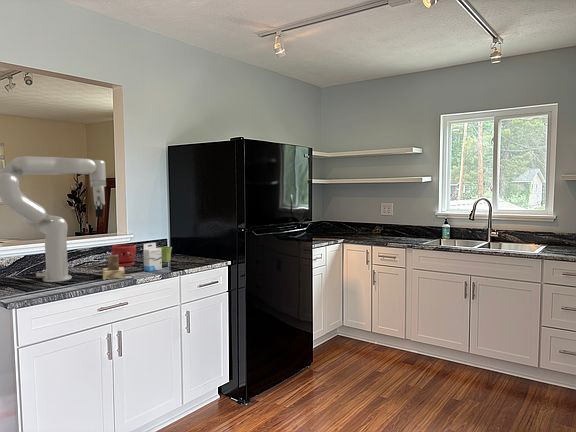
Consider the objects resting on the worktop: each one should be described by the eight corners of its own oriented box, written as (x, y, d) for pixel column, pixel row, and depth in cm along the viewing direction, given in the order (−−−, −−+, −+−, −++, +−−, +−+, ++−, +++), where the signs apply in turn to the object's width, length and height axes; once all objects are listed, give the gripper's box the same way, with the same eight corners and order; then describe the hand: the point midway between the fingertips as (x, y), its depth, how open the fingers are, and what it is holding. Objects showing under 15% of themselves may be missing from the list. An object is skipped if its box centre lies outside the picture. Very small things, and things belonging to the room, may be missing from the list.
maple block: (103, 279, 215) (102, 271, 215) (103, 276, 225) (103, 268, 224) (124, 278, 219) (124, 270, 219) (124, 274, 228) (123, 266, 228)
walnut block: (108, 270, 218) (107, 256, 218) (108, 268, 223) (107, 255, 222) (118, 269, 220) (118, 256, 220) (118, 268, 225) (118, 254, 224)
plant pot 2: (153, 262, 265) (152, 247, 264) (165, 259, 272) (165, 246, 272) (163, 263, 259) (163, 249, 259) (175, 261, 267) (175, 247, 267)
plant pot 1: (131, 267, 247) (130, 246, 246) (108, 267, 247) (107, 246, 246) (139, 263, 260) (139, 243, 259) (117, 263, 260) (117, 243, 259)
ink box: (149, 272, 235) (148, 244, 234) (143, 271, 237) (142, 244, 236) (162, 269, 242) (161, 242, 240) (156, 268, 244) (155, 242, 243)
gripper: (105, 183, 223) (107, 217, 225) (106, 183, 239) (107, 214, 241) (89, 183, 221) (91, 217, 222) (91, 183, 237) (92, 215, 238)
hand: (99, 216), depth 231 cm, fingers open, 9 cm apart
